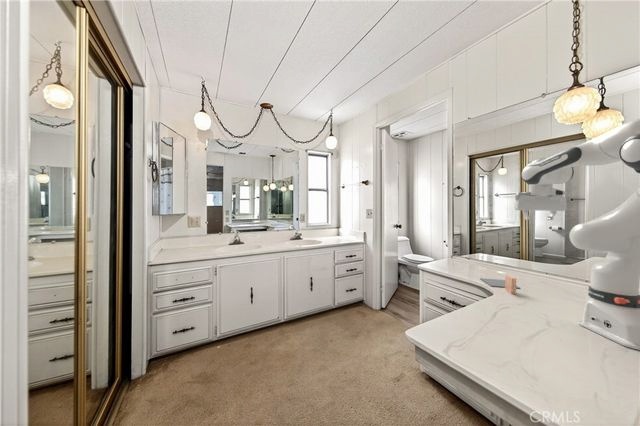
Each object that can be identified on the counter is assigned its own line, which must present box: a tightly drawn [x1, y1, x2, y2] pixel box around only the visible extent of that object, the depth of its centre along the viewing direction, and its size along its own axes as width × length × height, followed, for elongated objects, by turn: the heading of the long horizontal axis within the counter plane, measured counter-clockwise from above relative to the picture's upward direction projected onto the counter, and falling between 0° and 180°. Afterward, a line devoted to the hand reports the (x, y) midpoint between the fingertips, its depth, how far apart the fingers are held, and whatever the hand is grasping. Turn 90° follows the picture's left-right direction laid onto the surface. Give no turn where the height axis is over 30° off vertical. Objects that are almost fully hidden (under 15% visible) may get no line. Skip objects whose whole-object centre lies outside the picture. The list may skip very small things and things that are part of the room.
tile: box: [504, 274, 517, 295], centre depth 124 cm, size 6×2×8 cm, turn 166°
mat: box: [479, 277, 521, 290], centre depth 137 cm, size 14×14×1 cm
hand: (538, 219), depth 119 cm, fingers open, 8 cm apart
